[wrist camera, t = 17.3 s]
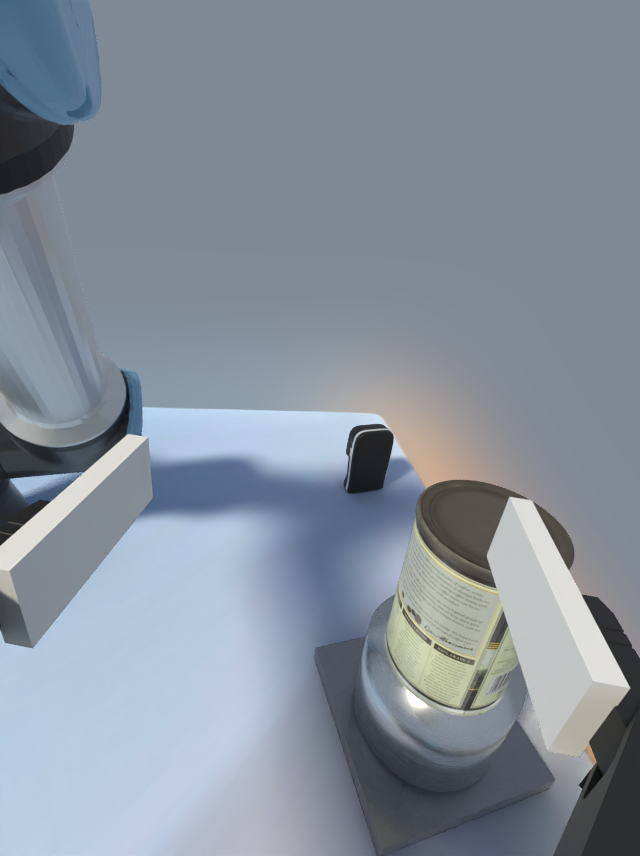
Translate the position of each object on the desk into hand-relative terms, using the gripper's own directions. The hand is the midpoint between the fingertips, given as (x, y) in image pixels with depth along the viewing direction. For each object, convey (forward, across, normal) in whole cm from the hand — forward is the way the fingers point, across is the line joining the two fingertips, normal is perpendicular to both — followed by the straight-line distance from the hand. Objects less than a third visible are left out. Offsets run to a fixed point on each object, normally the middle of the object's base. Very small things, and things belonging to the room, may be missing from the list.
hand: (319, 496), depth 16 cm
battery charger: (+48, +4, -32) cm, 58 cm away
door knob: (+12, +12, -32) cm, 36 cm away
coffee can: (+12, +12, -23) cm, 28 cm away
